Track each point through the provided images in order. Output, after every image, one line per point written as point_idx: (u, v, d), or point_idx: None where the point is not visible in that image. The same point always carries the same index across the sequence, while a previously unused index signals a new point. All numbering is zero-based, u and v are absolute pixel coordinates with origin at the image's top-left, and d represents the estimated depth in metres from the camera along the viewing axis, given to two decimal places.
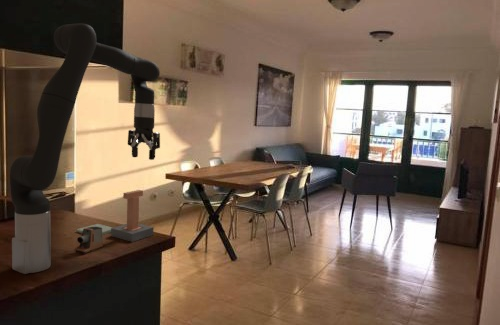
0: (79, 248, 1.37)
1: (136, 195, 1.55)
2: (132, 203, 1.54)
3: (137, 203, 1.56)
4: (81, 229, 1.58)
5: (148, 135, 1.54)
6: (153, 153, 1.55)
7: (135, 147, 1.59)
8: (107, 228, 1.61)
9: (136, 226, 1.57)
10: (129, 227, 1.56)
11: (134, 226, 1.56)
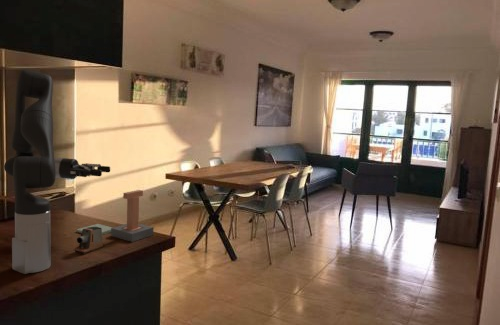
0: (78, 248, 1.37)
1: (136, 195, 1.55)
2: (132, 203, 1.54)
3: (137, 203, 1.56)
4: (81, 229, 1.58)
5: None
6: None
7: None
8: (107, 228, 1.61)
9: (136, 226, 1.57)
10: (129, 227, 1.56)
11: (134, 226, 1.56)
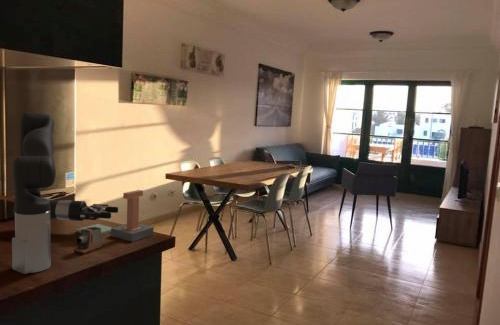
0: (78, 249, 1.36)
1: (136, 195, 1.55)
2: (132, 203, 1.54)
3: (137, 203, 1.56)
4: (81, 229, 1.58)
5: None
6: None
7: None
8: (107, 228, 1.61)
9: (136, 226, 1.57)
10: (129, 227, 1.56)
11: (134, 226, 1.56)
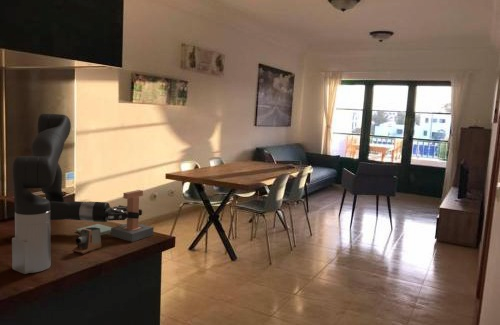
0: (77, 249, 1.36)
1: (136, 195, 1.55)
2: (132, 203, 1.54)
3: (137, 203, 1.56)
4: (81, 229, 1.58)
5: None
6: None
7: None
8: (107, 228, 1.61)
9: (136, 226, 1.57)
10: (129, 227, 1.56)
11: (134, 226, 1.56)
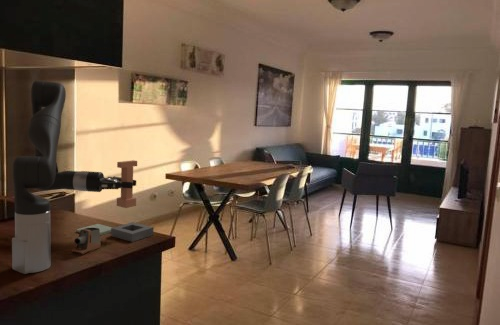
0: (76, 249, 1.36)
1: (130, 165, 1.54)
2: (126, 173, 1.53)
3: (131, 173, 1.55)
4: None
5: (112, 178, 1.58)
6: None
7: None
8: (107, 228, 1.61)
9: (130, 196, 1.55)
10: (123, 197, 1.55)
11: (128, 196, 1.54)
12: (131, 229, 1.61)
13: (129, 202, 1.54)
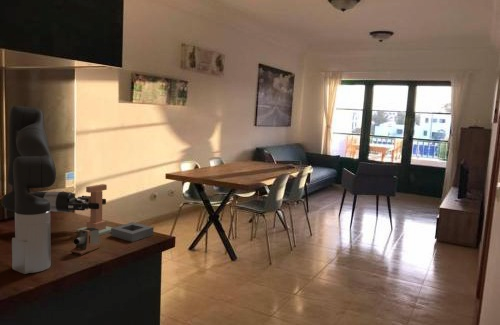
0: (75, 250, 1.35)
1: (99, 189, 1.58)
2: (95, 197, 1.56)
3: (100, 197, 1.58)
4: (81, 229, 1.58)
5: None
6: None
7: None
8: (107, 228, 1.61)
9: (100, 220, 1.59)
10: (92, 220, 1.58)
11: (97, 219, 1.58)
12: (131, 229, 1.61)
13: (98, 225, 1.57)
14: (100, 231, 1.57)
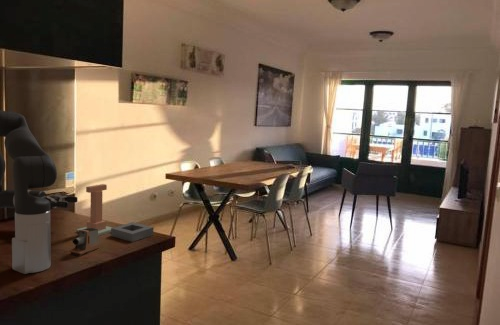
0: (74, 250, 1.35)
1: (99, 189, 1.58)
2: (95, 197, 1.56)
3: (100, 197, 1.58)
4: (81, 229, 1.58)
5: None
6: None
7: None
8: (107, 228, 1.61)
9: (100, 220, 1.59)
10: (92, 220, 1.58)
11: (97, 219, 1.58)
12: (131, 229, 1.61)
13: (98, 225, 1.57)
14: (100, 231, 1.57)
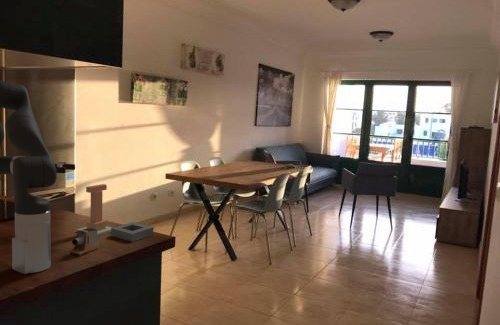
0: (74, 250, 1.35)
1: (99, 189, 1.58)
2: (95, 197, 1.56)
3: (100, 197, 1.58)
4: (81, 229, 1.58)
5: None
6: None
7: None
8: (107, 228, 1.61)
9: (100, 220, 1.59)
10: (92, 220, 1.58)
11: (97, 219, 1.58)
12: (131, 229, 1.61)
13: (98, 225, 1.57)
14: (100, 231, 1.57)
